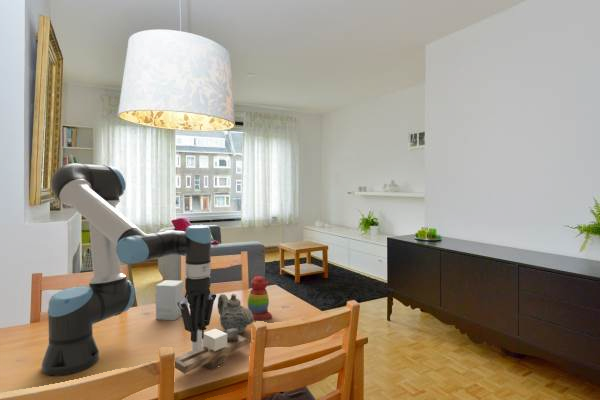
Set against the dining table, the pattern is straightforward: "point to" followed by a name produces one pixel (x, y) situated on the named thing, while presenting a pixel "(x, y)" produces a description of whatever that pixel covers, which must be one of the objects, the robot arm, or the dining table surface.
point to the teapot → (233, 313)
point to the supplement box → (169, 299)
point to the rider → (215, 339)
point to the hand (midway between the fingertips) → (197, 350)
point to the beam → (210, 354)
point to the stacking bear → (259, 299)
